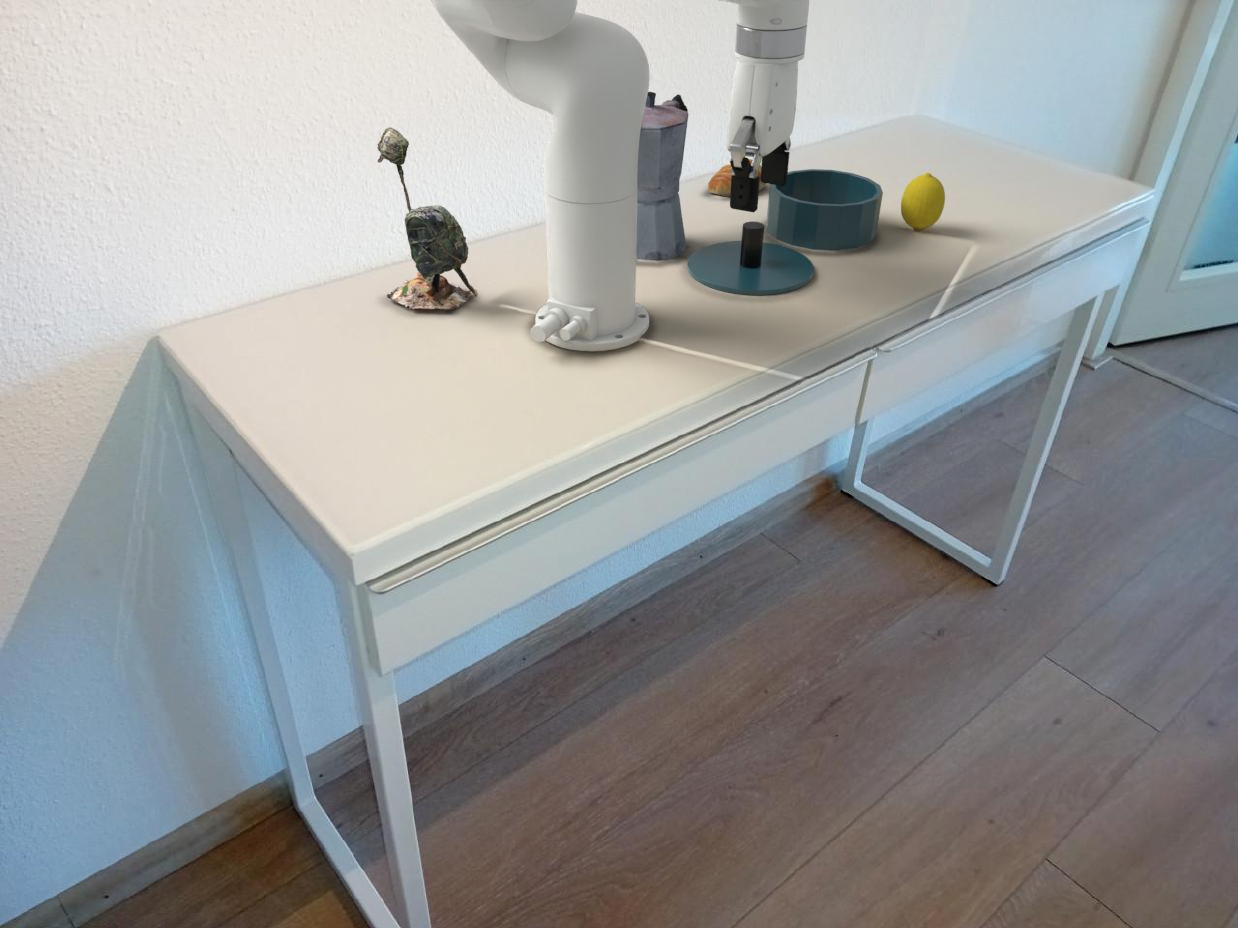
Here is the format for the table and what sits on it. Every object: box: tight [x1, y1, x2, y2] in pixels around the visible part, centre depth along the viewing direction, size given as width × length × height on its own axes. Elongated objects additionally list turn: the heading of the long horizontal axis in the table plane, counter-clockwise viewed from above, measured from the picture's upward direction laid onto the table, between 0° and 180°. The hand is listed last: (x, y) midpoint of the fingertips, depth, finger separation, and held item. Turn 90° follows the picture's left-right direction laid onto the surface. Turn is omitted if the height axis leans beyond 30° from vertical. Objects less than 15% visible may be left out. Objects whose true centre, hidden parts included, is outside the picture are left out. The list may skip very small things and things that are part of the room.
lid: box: [686, 221, 815, 296], centre depth 119 cm, size 15×15×6 cm
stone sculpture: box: [376, 126, 479, 311], centre depth 108 cm, size 8×11×20 cm
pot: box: [765, 168, 884, 251], centre depth 130 cm, size 14×14×6 cm
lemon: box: [900, 172, 946, 232], centre depth 130 cm, size 6×6×8 cm
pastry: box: [707, 158, 767, 199], centre depth 145 cm, size 9×7×4 cm
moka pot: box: [636, 91, 689, 262], centre depth 121 cm, size 10×15×20 cm, turn 152°
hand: (758, 196), depth 116 cm, fingers open, 9 cm apart
